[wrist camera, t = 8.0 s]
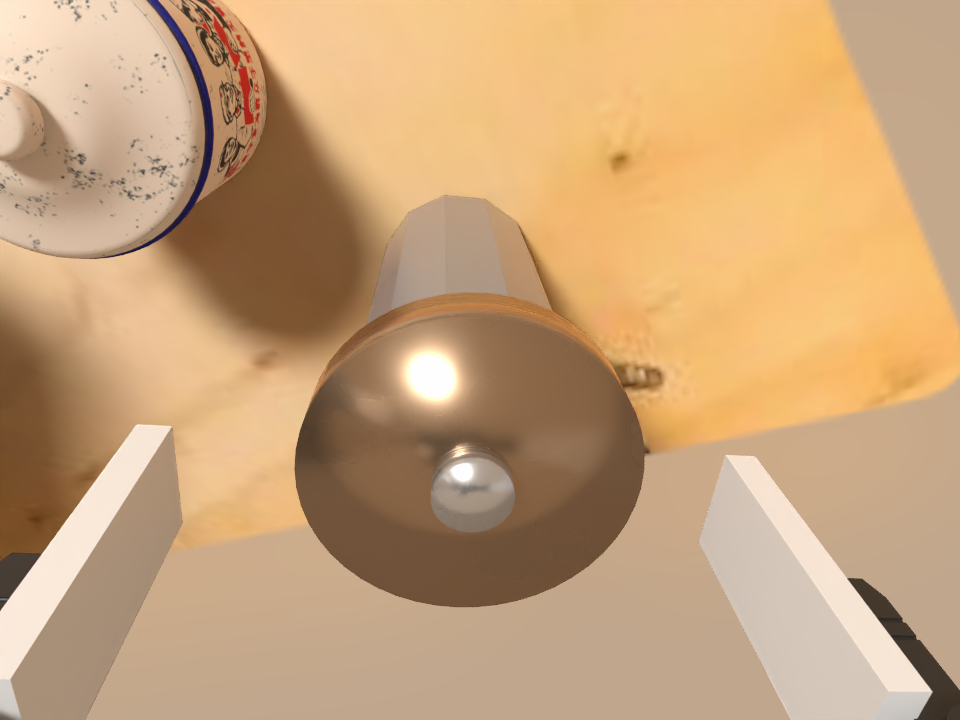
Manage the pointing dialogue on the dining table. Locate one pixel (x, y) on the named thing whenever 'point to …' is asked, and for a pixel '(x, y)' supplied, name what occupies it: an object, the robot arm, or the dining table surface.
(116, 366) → the dining table surface
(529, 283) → the cylinder
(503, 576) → the plunger
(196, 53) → the teacup with lid
